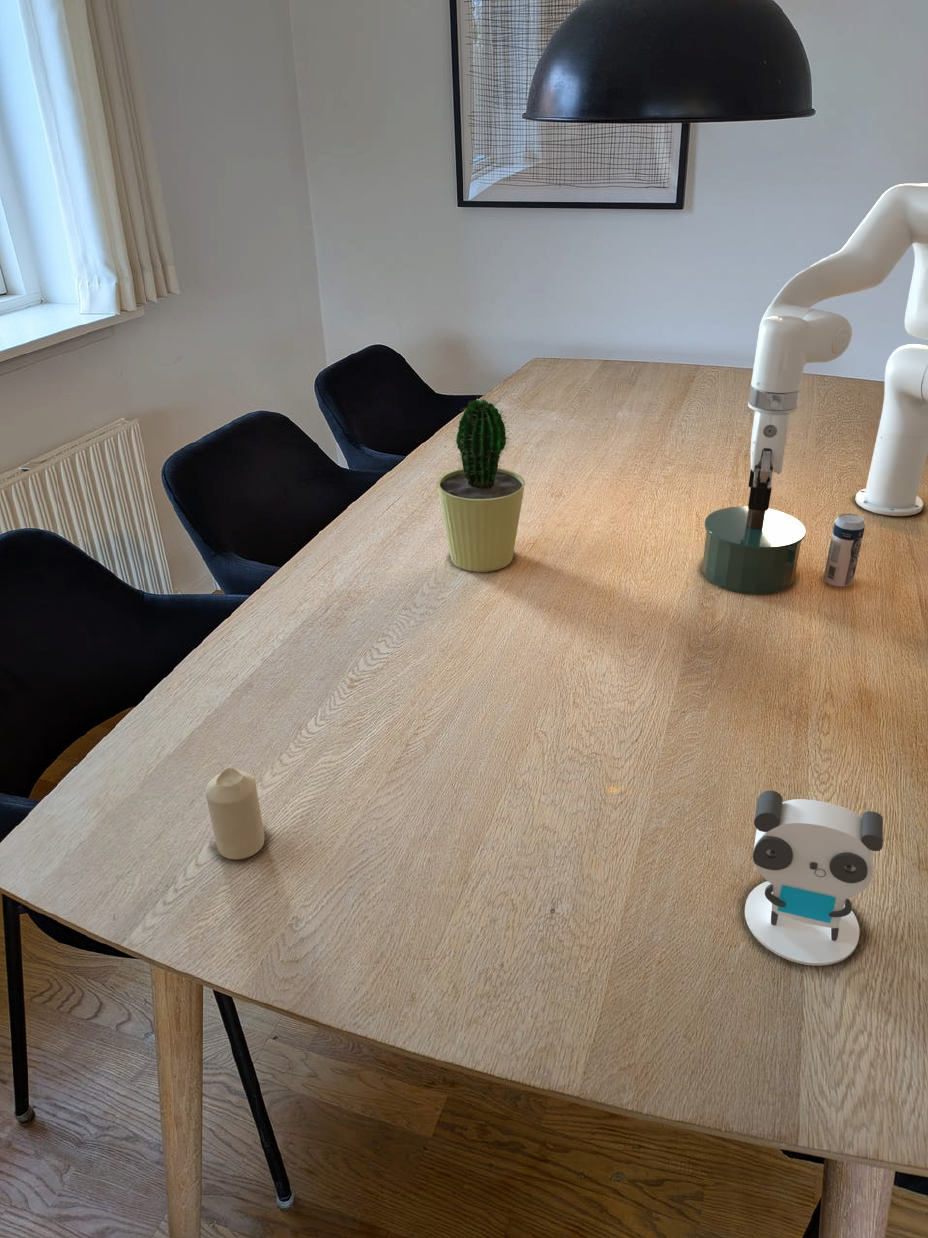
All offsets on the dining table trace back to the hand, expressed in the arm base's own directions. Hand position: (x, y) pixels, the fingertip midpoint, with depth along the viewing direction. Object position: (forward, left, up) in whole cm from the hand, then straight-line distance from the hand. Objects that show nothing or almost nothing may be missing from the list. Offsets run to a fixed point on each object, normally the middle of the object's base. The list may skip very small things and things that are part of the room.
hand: (757, 498), depth 158 cm
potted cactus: (+5, -47, -14) cm, 49 cm away
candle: (+83, -56, -14) cm, 101 cm away
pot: (0, 0, -14) cm, 14 cm away
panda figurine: (+79, +6, -14) cm, 80 cm away
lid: (0, 0, -6) cm, 6 cm away
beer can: (0, +15, -14) cm, 21 cm away
